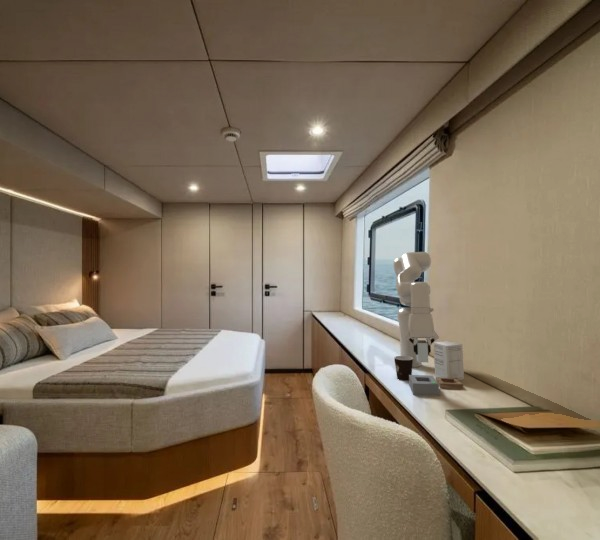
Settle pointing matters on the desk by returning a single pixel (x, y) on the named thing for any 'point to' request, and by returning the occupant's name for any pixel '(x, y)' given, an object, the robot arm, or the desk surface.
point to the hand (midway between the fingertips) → (422, 353)
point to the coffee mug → (403, 367)
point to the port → (423, 385)
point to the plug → (422, 351)
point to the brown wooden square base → (449, 383)
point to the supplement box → (448, 360)
